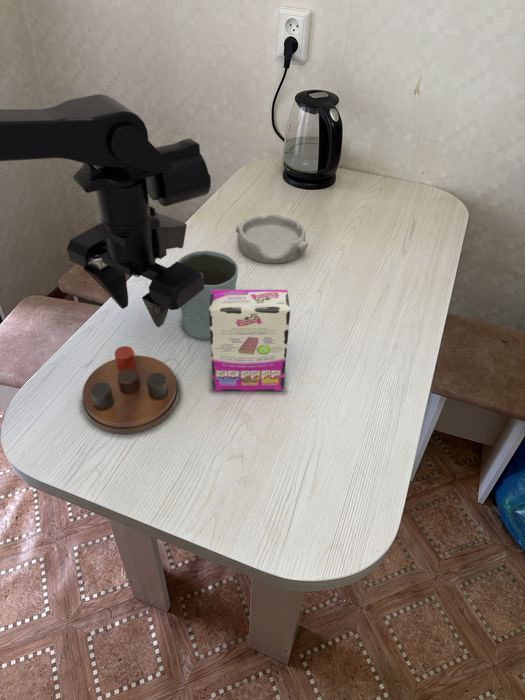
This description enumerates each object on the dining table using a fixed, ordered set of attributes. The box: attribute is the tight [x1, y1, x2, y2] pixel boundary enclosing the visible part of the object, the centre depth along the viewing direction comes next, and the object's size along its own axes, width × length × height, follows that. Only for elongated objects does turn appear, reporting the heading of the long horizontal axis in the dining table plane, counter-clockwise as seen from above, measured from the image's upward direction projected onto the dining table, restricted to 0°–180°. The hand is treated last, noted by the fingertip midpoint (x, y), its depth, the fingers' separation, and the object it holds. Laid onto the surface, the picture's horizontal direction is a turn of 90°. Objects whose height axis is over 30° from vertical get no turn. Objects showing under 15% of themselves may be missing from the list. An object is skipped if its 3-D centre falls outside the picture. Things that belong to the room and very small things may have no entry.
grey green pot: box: [177, 250, 239, 340], centre depth 86 cm, size 10×10×12 cm
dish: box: [235, 213, 309, 264], centre depth 107 cm, size 14×14×5 cm
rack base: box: [82, 378, 179, 435], centre depth 76 cm, size 14×14×1 cm
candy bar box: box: [209, 289, 291, 392], centre depth 75 cm, size 11×5×16 cm, turn 92°
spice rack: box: [82, 345, 177, 428], centre depth 74 cm, size 14×14×4 cm
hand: (142, 316), depth 71 cm, fingers open, 6 cm apart
